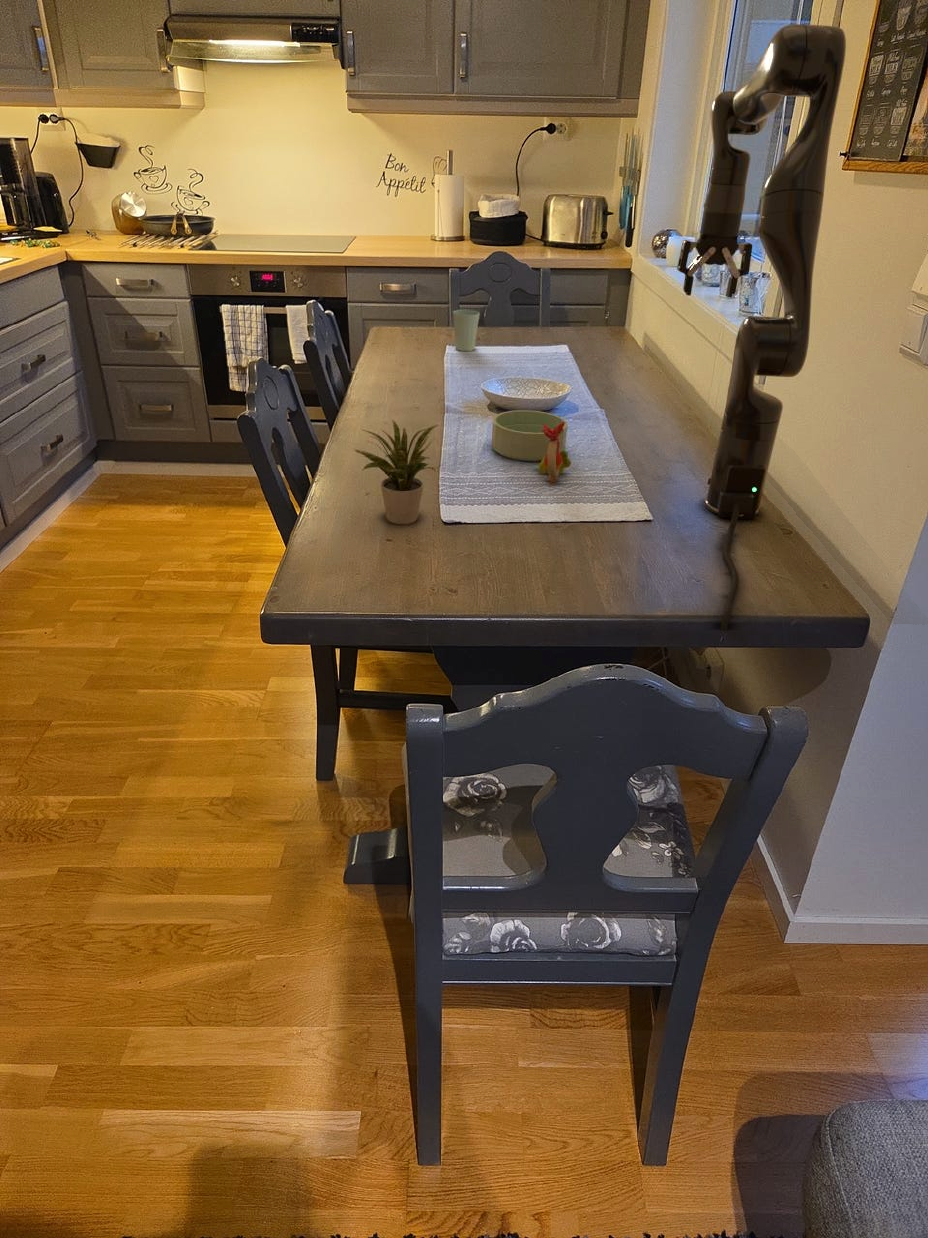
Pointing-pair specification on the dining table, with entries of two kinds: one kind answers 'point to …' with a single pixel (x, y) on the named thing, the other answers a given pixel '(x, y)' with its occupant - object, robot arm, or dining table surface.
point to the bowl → (525, 434)
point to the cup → (465, 329)
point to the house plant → (401, 475)
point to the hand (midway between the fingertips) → (708, 295)
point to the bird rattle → (554, 454)
